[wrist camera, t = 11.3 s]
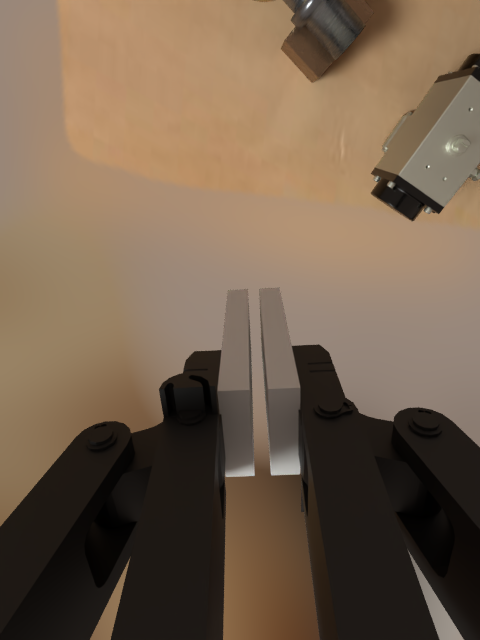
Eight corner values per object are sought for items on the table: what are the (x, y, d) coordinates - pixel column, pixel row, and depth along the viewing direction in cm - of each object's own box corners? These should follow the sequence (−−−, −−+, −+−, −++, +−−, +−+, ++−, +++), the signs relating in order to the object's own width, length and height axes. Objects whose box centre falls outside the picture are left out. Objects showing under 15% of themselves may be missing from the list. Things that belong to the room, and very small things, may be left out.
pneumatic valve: (348, 181, 42) (385, 201, 31) (427, 65, 37) (502, 41, 27) (391, 210, 43) (440, 238, 32) (472, 101, 39) (561, 91, 28)
